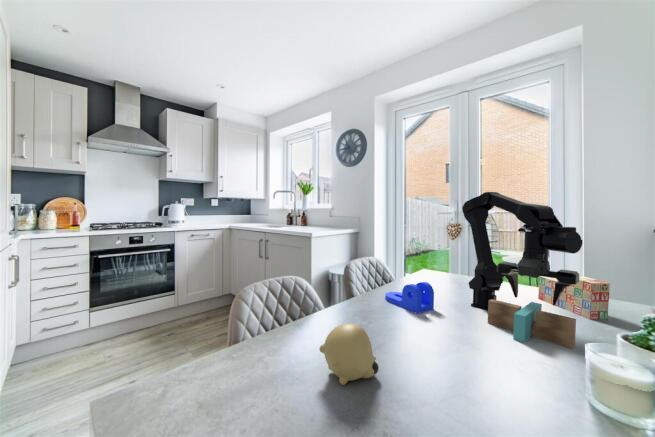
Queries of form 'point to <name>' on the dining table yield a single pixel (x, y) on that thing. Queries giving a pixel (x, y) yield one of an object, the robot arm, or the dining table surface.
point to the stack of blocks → (579, 296)
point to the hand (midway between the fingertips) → (534, 301)
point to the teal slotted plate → (525, 321)
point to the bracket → (413, 297)
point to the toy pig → (349, 353)
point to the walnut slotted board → (535, 323)
